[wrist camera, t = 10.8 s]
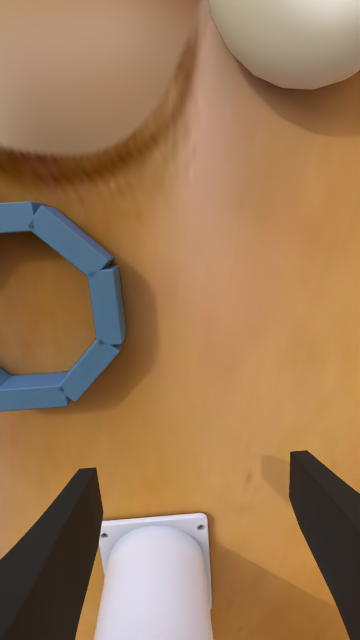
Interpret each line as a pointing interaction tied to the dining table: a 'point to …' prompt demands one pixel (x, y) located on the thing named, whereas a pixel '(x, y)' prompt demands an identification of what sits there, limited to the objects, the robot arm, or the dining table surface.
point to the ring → (105, 298)
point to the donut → (292, 39)
